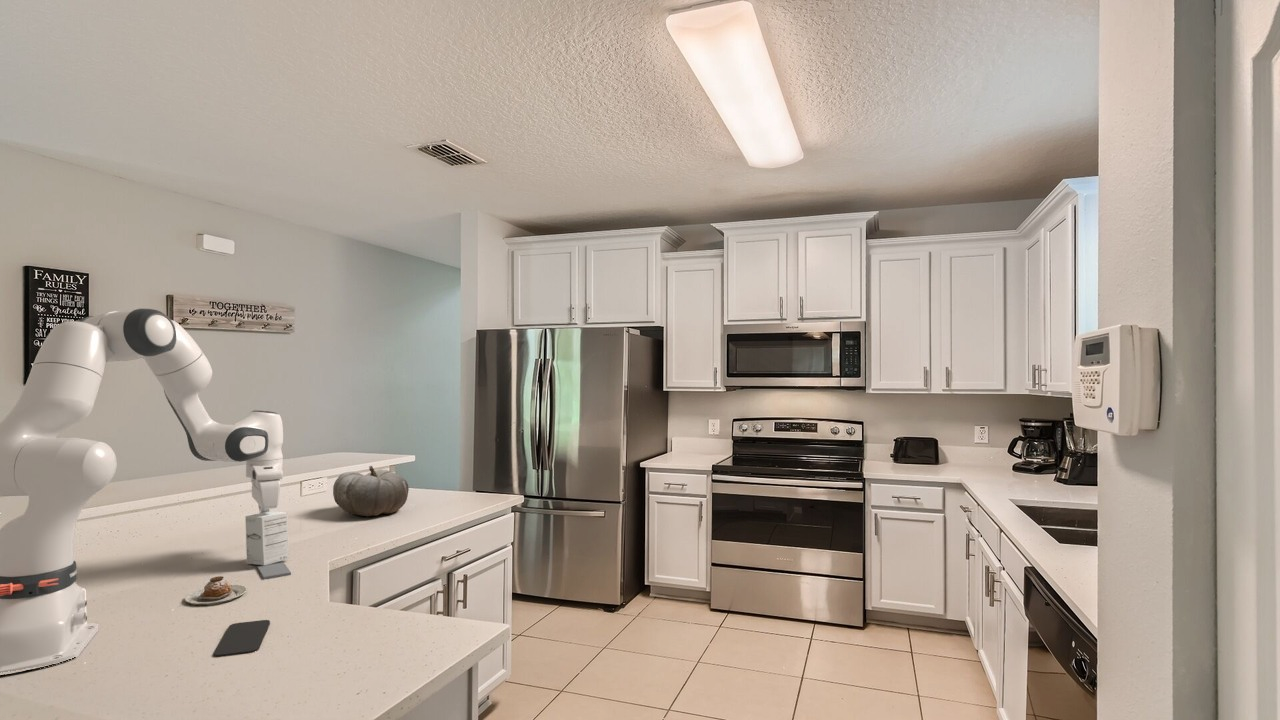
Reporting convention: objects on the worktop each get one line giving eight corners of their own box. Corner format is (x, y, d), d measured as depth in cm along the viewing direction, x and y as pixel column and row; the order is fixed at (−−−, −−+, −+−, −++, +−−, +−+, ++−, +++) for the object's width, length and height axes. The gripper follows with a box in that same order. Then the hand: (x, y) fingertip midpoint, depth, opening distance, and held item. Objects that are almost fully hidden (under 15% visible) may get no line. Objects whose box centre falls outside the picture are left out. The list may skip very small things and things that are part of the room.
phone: (211, 655, 121) (229, 623, 135) (211, 660, 121) (229, 627, 135) (258, 650, 123) (271, 619, 137) (258, 654, 123) (271, 623, 137)
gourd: (312, 510, 224) (323, 459, 226) (362, 507, 248) (372, 460, 250) (372, 524, 217) (383, 471, 219) (418, 519, 240) (428, 472, 242)
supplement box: (245, 564, 174) (244, 516, 175) (272, 557, 181) (270, 510, 181) (263, 566, 171) (261, 517, 171) (290, 558, 177) (288, 511, 178)
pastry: (259, 592, 155) (259, 573, 155) (213, 611, 143) (213, 590, 143) (218, 587, 158) (219, 567, 158) (171, 604, 147) (171, 584, 147)
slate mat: (290, 574, 166) (290, 572, 166) (263, 579, 163) (263, 576, 163) (283, 564, 174) (283, 562, 174) (257, 568, 171) (257, 566, 171)
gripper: (246, 465, 188) (245, 513, 188) (257, 475, 172) (256, 528, 172) (271, 463, 192) (270, 510, 192) (284, 473, 176) (283, 525, 176)
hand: (263, 519), depth 182 cm, fingers closed
